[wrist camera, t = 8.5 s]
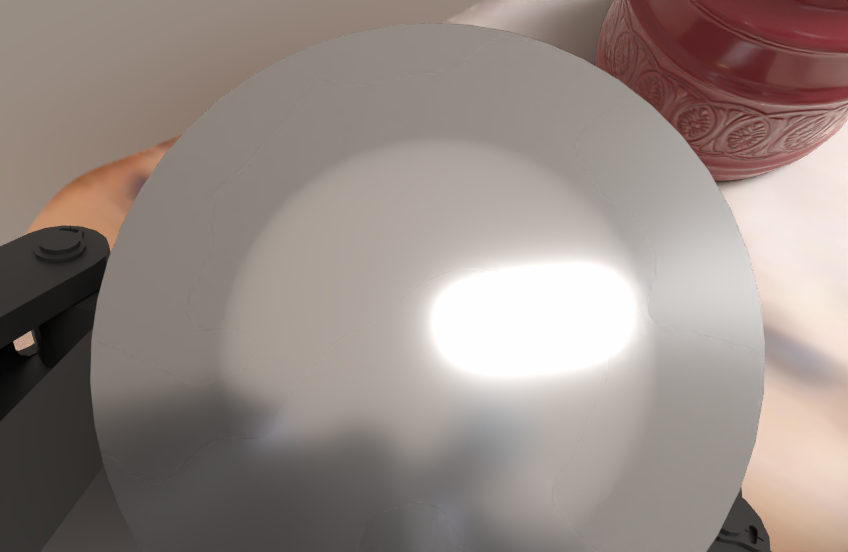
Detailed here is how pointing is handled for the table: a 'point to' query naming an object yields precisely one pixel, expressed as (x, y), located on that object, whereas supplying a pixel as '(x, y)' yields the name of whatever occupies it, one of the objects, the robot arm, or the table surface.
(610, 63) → the canister
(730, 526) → the robot arm
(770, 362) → the table surface
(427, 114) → the sun gear
